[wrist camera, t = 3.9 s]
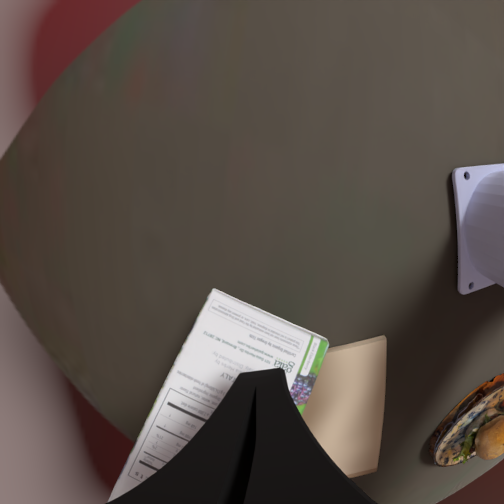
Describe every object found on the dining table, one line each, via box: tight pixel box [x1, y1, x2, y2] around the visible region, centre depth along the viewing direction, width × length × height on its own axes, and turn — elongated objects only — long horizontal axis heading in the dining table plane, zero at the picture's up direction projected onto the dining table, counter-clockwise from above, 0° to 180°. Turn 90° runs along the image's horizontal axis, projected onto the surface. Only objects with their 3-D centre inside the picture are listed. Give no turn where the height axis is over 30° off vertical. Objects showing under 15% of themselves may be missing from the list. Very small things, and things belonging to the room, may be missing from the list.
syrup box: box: [107, 289, 329, 503], centre depth 11 cm, size 6×6×14 cm
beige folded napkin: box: [302, 335, 387, 478], centre depth 19 cm, size 13×16×1 cm
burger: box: [429, 374, 504, 467], centre depth 15 cm, size 12×12×8 cm
